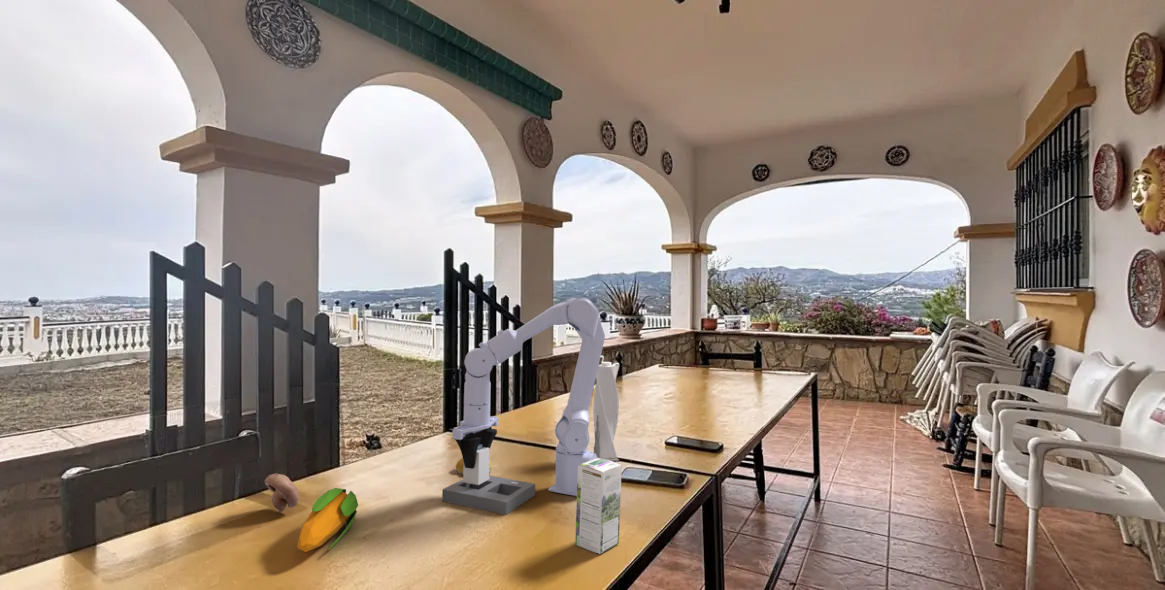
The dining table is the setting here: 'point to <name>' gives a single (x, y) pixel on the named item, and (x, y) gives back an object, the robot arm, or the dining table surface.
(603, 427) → the skyscraper
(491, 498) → the port panel
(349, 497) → the corn
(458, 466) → the bread roll
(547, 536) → the dining table surface
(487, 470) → the plug
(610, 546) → the syrup box
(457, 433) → the robot arm
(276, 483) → the mushroom
